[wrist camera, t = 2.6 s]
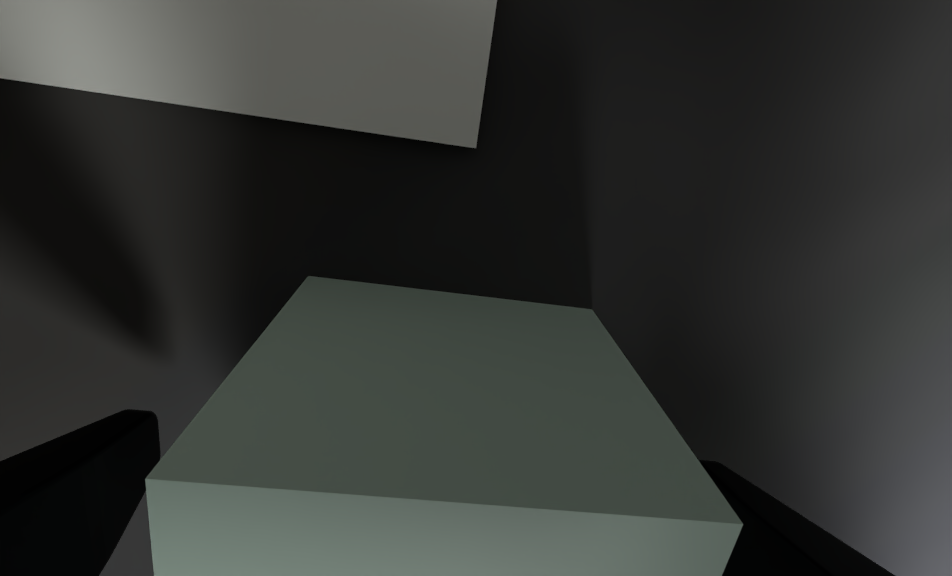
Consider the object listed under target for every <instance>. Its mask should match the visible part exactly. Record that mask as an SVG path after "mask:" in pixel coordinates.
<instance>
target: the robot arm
mask: <svg viewBox="0 0 952 576" xmlns="http://www.w3.org/2000/svg"><path fill="white" fill-rule="evenodd" d="M159 461H160V441H159V429H158V419H157V416H156V414H155V413H153V412H152V411H143V410H132V409H127V410H123V411H121V412H118V413H116V414H113V415H111V416H108V417H106V418H104V419H101V420H99V421H96V422H94V423H92V424H89V425H87V426H84V427H82V428H79V429H77V430H75V431H72V432H70V433H67V434H65V435H63V436H60V437H58V438H55V439H53V440H50V441H48V442H46V443H43V444H41V445H38V446H36V447H34V448H31V449H29V450H26V451H24V452H22V453H19V454H17V455H14V456H12V457H9V458H7V459H5V460H2V461H0V576H99V575H100V573H101V571H102V570H103V568H104V567H105V565H106V563H107V562H108V560H109V558H110V557H111V555H112V553H113V551H114V549H115V548H116V546H117V544H118V542H119V540H120V538H121V536H122V535H123V533H124V531H125V529H126V527H127V525H128V523H129V521H130V519H131V518H132V516H133V514H134V512H135V510H136V508H137V506H138V504H139V502H140V501H141V499H142V497H143V495H144V493H145V491H146V483H145V478H146V477H147V476H148V475H149V473H150V472H151V471H152V470H153V468H154V467H155V466H156V465H157V463H158V462H159ZM698 461H699V462H700V463H701V465H702V466H703V468H704V469H705V471H706V472H707V473H708V475H709V476H710V478H711V479H712V480H713V482H714V483H715V485H716V486H717V488H718V489H719V490H720V492H721V493H722V495H723V496H724V497H725V499H726V500H727V502H728V503H729V505H730V506H731V507H732V509H733V510H734V512H735V513H736V515H737V516H738V517H739V519H740V520H741V522H742V523H743V526H742V529H741V531H740V534H739V536H738V538H737V541H736V543H735V545H734V548H733V550H732V553H731V555H730V557H729V560H728V562H727V565H726V567H725V569H724V572H723V574H722V576H895V575H893V574H892V573H890V572H889V571H887V570H886V569H884V568H882V567H881V566H879V565H878V564H876V563H875V562H873V561H872V560H870V559H868V558H867V557H865V556H864V555H862V554H861V553H859V552H858V551H856V550H854V549H853V548H851V547H850V546H848V545H847V544H845V543H844V542H842V541H841V540H839V539H837V538H836V537H834V536H833V535H831V534H830V533H828V532H827V531H825V530H823V529H822V528H820V527H819V526H817V525H816V524H814V523H813V522H811V521H809V520H808V519H806V518H805V517H803V516H802V515H800V514H799V513H797V512H795V511H794V510H792V509H791V508H789V507H788V506H786V505H785V504H783V503H782V502H780V501H778V500H777V499H775V498H774V497H772V496H771V495H769V494H768V493H766V492H764V491H763V490H761V489H760V488H758V487H757V486H755V485H754V484H752V483H750V482H749V481H747V480H746V479H744V478H743V477H741V476H740V475H738V474H736V473H735V472H733V471H732V470H730V469H729V468H727V467H726V466H724V465H722V464H721V463H719V462H715V461H704V460H698Z"/></svg>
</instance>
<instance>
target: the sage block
mask: <svg viewBox="0 0 952 576" xmlns="http://www.w3.org/2000/svg"><path fill="white" fill-rule="evenodd" d="M145 483H146V494H147V504H148V515H149V526H150V537H151V547H152V558H153V569H154V576H722V574H723V572H724V569H725V567H726V565H727V562H728V560H729V557H730V555H731V553H732V550H733V548H734V545H735V543H736V541H737V538H738V536H739V534H740V531H741V529H742V526H743V523H742V522H741V520H740V519H739V517H738V516H737V515H736V513H735V512H734V510H733V509H732V507H731V506H730V505H729V503H728V502H727V500H726V499H725V497H724V496H723V495H722V493H721V492H720V490H719V489H718V488H717V486H716V485H715V483H714V482H713V480H712V479H711V478H710V476H709V475H708V473H707V472H706V471H705V469H704V468H703V466H702V465H701V463H700V462H699V461H698V459H697V458H696V456H695V455H694V453H693V452H692V451H691V449H690V448H689V446H688V445H687V444H686V442H685V441H684V439H683V438H682V436H681V435H680V434H679V432H678V431H677V429H676V428H675V426H674V425H673V424H672V422H671V421H670V419H669V418H668V417H667V415H666V414H665V412H664V411H663V409H662V408H661V407H660V405H659V404H658V402H657V401H656V400H655V398H654V397H653V395H652V394H651V392H650V391H649V390H648V388H647V387H646V385H645V384H644V382H643V381H642V380H641V378H640V377H639V375H638V374H637V373H636V371H635V370H634V368H633V367H632V365H631V364H630V363H629V361H628V360H627V358H626V357H625V355H624V354H623V353H622V351H621V350H620V348H619V347H618V346H617V344H616V343H615V341H614V340H613V338H612V337H611V336H610V334H609V333H608V331H607V330H606V328H605V327H604V326H603V324H602V323H601V321H600V320H599V319H598V317H597V316H596V314H595V313H594V311H593V310H592V309H585V308H576V307H568V306H559V305H551V304H542V303H534V302H526V301H517V300H509V299H500V298H492V297H483V296H475V295H466V294H458V293H449V292H441V291H432V290H424V289H415V288H407V287H399V286H390V285H382V284H373V283H365V282H356V281H348V280H339V279H331V278H322V277H314V276H308V277H307V278H306V279H305V281H304V282H303V283H302V284H301V286H300V287H299V288H298V289H297V290H296V292H295V293H294V294H293V295H292V297H291V298H290V299H289V300H288V302H287V303H286V304H285V305H284V307H283V308H282V309H281V310H280V312H279V313H278V314H277V315H276V317H275V318H274V319H273V320H272V322H271V323H270V324H269V325H268V327H267V328H266V329H265V330H264V332H263V333H262V334H261V335H260V337H259V338H258V339H257V340H256V342H255V343H254V344H253V345H252V346H251V348H250V349H249V350H248V351H247V353H246V354H245V355H244V356H243V358H242V359H241V360H240V361H239V363H238V364H237V365H236V366H235V368H234V369H233V370H232V371H231V373H230V374H229V375H228V376H227V378H226V379H225V380H224V381H223V383H222V384H221V385H220V386H219V388H218V389H217V390H216V391H215V393H214V394H213V395H212V396H211V398H210V399H209V400H208V401H207V403H206V404H205V405H204V406H203V407H202V409H201V410H200V411H199V412H198V414H197V415H196V416H195V417H194V419H193V420H192V421H191V422H190V424H189V425H188V426H187V427H186V429H185V430H184V431H183V432H182V434H181V435H180V436H179V437H178V439H177V440H176V441H175V442H174V444H173V445H172V446H171V447H170V449H169V450H168V451H167V452H166V454H165V455H164V456H163V457H162V459H161V460H160V461H159V462H158V463H157V465H156V466H155V467H154V468H153V470H152V471H151V472H150V473H149V475H148V476H147V477H146V478H145Z"/></svg>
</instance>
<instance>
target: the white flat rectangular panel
mask: <svg viewBox="0 0 952 576" xmlns="http://www.w3.org/2000/svg"><path fill="white" fill-rule="evenodd" d="M496 4H497V0H0V78H3V79H10V80H16V81H23V82H30V83H37V84H44V85H50V86H57V87H64V88H71V89H77V90H84V91H91V92H98V93H104V94H111V95H118V96H125V97H132V98H138V99H145V100H152V101H159V102H165V103H172V104H179V105H186V106H192V107H199V108H206V109H213V110H219V111H226V112H233V113H240V114H247V115H253V116H260V117H267V118H274V119H280V120H287V121H294V122H301V123H307V124H314V125H321V126H328V127H334V128H341V129H348V130H355V131H362V132H368V133H375V134H382V135H389V136H395V137H402V138H409V139H416V140H422V141H429V142H436V143H443V144H450V145H456V146H463V147H470V148H476V145H477V138H478V131H479V124H480V117H481V110H482V103H483V96H484V89H485V82H486V75H487V68H488V61H489V54H490V47H491V40H492V32H493V25H494V18H495V11H496Z"/></svg>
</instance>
